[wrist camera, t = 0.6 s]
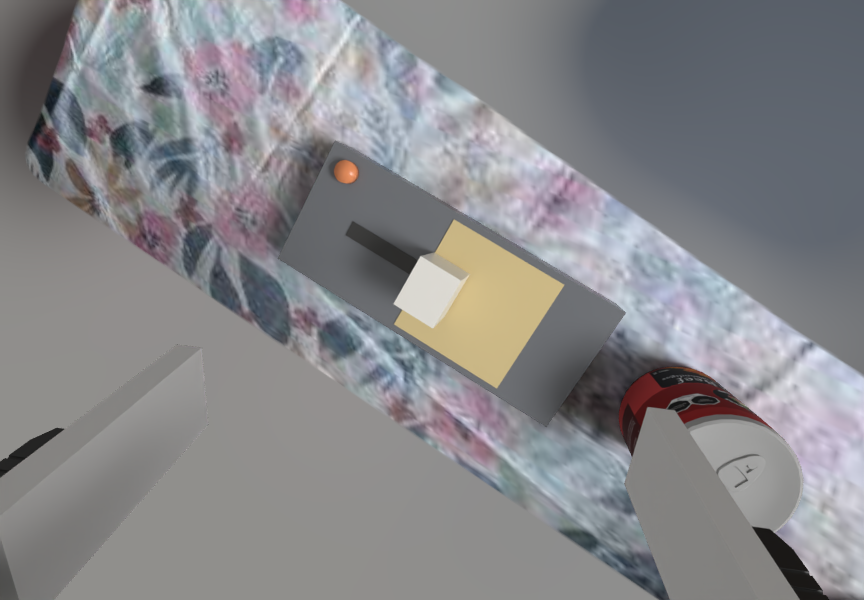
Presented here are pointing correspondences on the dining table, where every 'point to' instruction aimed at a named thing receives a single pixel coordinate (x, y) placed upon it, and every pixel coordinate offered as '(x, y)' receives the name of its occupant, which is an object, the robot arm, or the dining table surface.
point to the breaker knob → (431, 289)
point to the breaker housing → (478, 298)
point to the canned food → (722, 441)
